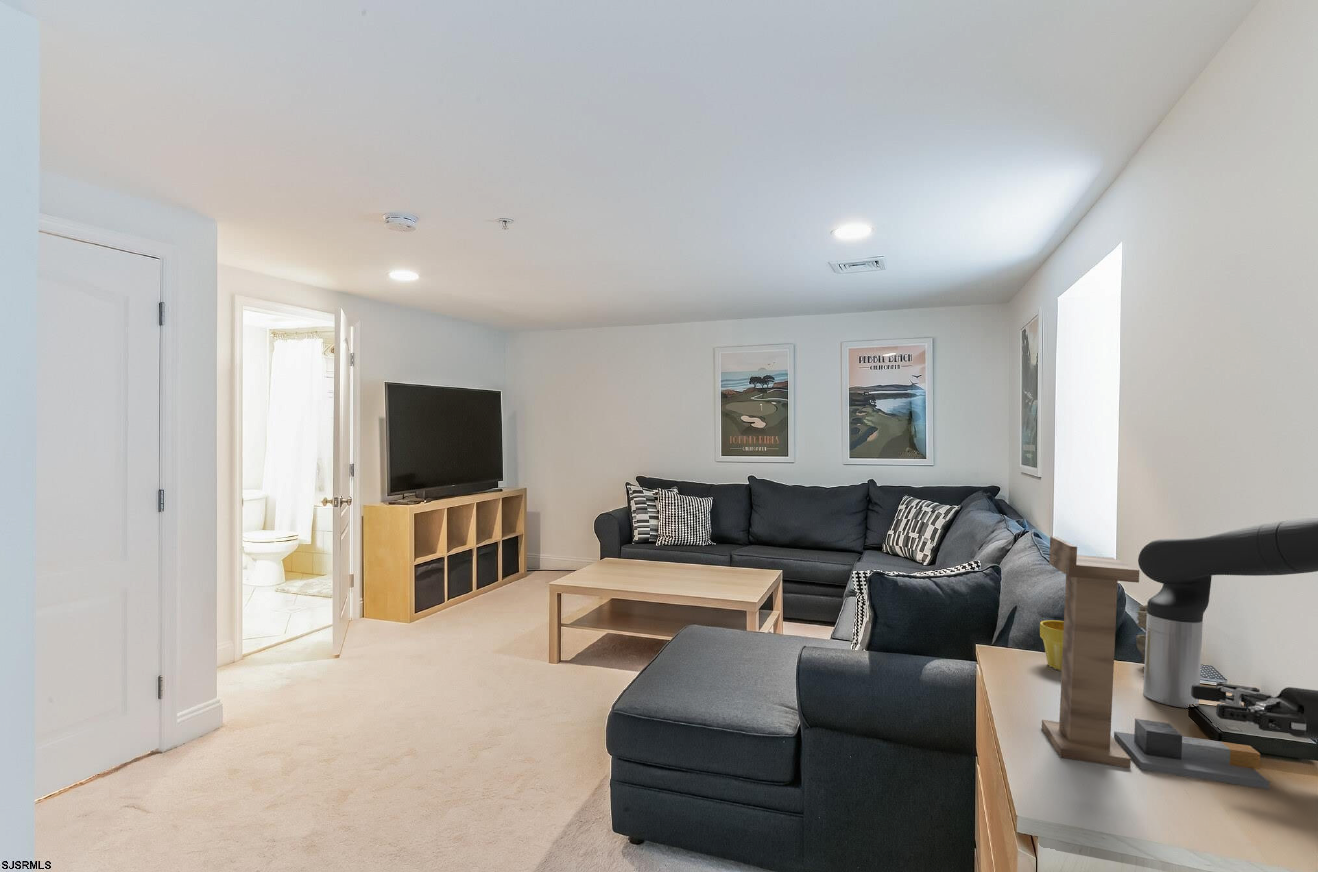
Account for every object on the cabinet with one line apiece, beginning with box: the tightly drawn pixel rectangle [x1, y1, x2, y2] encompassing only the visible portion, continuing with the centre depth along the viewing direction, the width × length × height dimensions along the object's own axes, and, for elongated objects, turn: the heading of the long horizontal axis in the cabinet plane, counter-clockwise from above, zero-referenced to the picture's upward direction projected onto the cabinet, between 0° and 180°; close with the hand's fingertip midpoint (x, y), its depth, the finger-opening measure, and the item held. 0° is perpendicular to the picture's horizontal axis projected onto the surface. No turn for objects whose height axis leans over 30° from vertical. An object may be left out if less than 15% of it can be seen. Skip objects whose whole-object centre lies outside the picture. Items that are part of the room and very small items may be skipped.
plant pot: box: [1039, 619, 1064, 671], centre depth 159 cm, size 10×10×10 cm
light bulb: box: [1136, 604, 1147, 665], centre depth 161 cm, size 6×6×15 cm
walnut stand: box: [1041, 535, 1140, 769], centre depth 117 cm, size 12×10×35 cm
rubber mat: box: [1113, 731, 1270, 790], centre depth 113 cm, size 12×17×1 cm
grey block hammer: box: [1133, 718, 1261, 770], centre depth 112 cm, size 5×16×4 cm, turn 73°
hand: (1204, 700), depth 112 cm, fingers open, 8 cm apart
